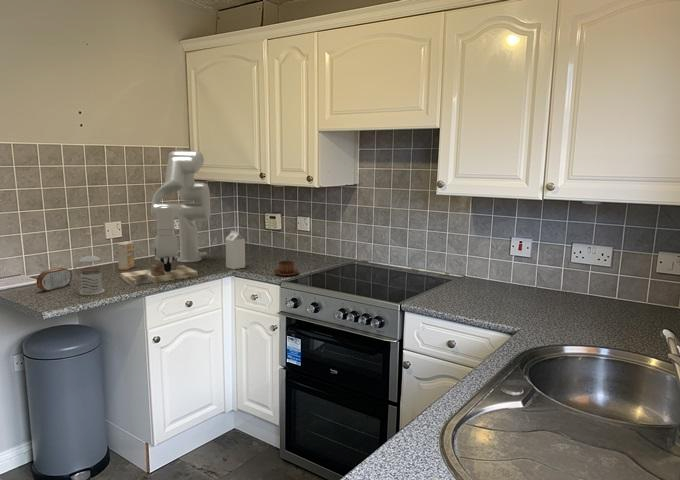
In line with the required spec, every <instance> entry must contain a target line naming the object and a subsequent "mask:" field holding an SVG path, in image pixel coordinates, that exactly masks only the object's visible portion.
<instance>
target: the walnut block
mask: <svg viewBox="0 0 680 480" xmlns="http://www.w3.org/2000/svg"><path fill="white" fill-rule="evenodd" d="M150 269H151V275H153V276H161V275H165V274H164V265H163V263H154V264H150Z"/></svg>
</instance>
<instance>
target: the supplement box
mask: <svg viewBox="0 0 680 480" xmlns="http://www.w3.org/2000/svg"><path fill="white" fill-rule="evenodd" d="M134 244H135V243H134V241H123V242H121V243H117V257H118V259H117V260H118V270H119V271H129V270H130V269H132V268H134V267H135V250H134V246H135V245H134Z"/></svg>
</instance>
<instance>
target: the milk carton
mask: <svg viewBox="0 0 680 480" xmlns="http://www.w3.org/2000/svg"><path fill="white" fill-rule="evenodd" d="M245 241H246V239H245V238H244V237H243V236H242V235H241V234H240V231H237V230H236V231H235V230H230V233H229V234H228V235H227V236H226V238H225V267H226V268H228V269H231V270H238V269H242V268H243V269H244V268H246V242H245Z"/></svg>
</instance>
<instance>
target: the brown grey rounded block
mask: <svg viewBox="0 0 680 480" xmlns="http://www.w3.org/2000/svg"><path fill="white" fill-rule="evenodd" d="M72 274H73V273H72V271H71V270H70V269H68V268H65V267H58V268H53V269H48V270H44V271H42V272H40V273H39V274H38V276H37V278H36V286H37V288H38V289H39V290H41V291H47V292H49V291H53V290H57V289H62V288H65V287H67V286H69V285H70V284H71V282H72V279H73V277H72V276H73V275H72Z"/></svg>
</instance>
